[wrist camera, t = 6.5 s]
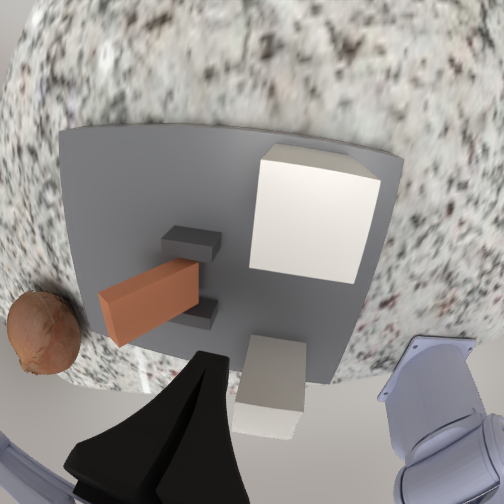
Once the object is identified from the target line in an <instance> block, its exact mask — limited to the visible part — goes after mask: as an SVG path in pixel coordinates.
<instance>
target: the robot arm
mask: <svg viewBox="0 0 504 504" xmlns="http://www.w3.org/2000/svg"><path fill="white" fill-rule="evenodd" d="M414 345H415V346H414ZM475 345H476V341H475V340H474V339H455V338H437V337H422V336H417V337H415V338H413V340H412V341H411V343H410V345H409V347H408V348H407V350H406V352H405V354H404V355H403V357H402V359H401V360H400V362H399V364H398V365H397V367H396V369H395V370H394V372H393V374H392V375H391V377H390V379H389V380H388V382H387V383H386V385H385V386H384V388H383V389H382V391H381V392H380V394H379V395H378V397H377V399H378V401H380V402H381V401H383V402H385V404H386V410H387V417H388V423H389V430H390V437H391V444H392V447H393V450H394V451H395V453H396V454H397V456H398V457H399V458H401V459H402V460H403V461H405V464H406V465H405V466H404V467H403V468H402V469H401V470H400V471H399V472H398V474H397V477H396V480H395V484H394V491H393V495H394V502H395V504H463V503H465V502H467V501H469V500H471V499H473V498H475V497H477V496H479V495H481V494H483V493H485V492H487V491H489V490H490V489H492V488H494V487H496V486H498V485H499V484H500V485H499V486H498V487H496V488H494V489H493V490H491V491H489V492H487V493H486V494H484V495H482V496H480V497H478V498H476V499H474V500H472V501H470V502H468V503H466V504H504V417H502V416H501V415H496V414H493V413H492V414H490V415H488V416H487V414H486V411H485V408H484V406H483V403H482V400H481V398H480V395H479V392H478V390H477V387H476V385H475V382H474V380H473V378H472V375H471V373H470V371H469V368H468V366H467V364H466V362H465V360H466V359H467V357H468V356H469V354H470V353H471V351H472V350H473V348H474V347H475ZM229 363H230V358H229V357H228V356H224V355H219V354H214V353H210V352H205V351H201V350H199V351H197V352H196V353H195V355H194V356H193V357H192V359H191V360H190V361H189V362H188V364H187V365H186V366H185V367H184V368H183V370H182V371H181V372H180V373H179V374H178V375H177V376H176V377H175V378H174V379H173V380H172V382H171V383H170V384H169V385H168V386H167V387H166V388H165V389H163V390H162V391H161V392H160V393H159V394H158V395H157V396H156V397H155V398H154V399H153V400H151V401H150V402H149V403H148V404H147V405H145V406H144V407H143V408H142V409H140V410H139V411H137V412H136V413H135V414H133V415H132V416H130V417H129V418H127V419H126V420H124V421H123V422H121V423H119V424H118V425H116V426H114V427H112V428H110V429H108V430H107V431H105V432H103V433H101V434H99V435H97V436H94V437H92V438H90V439H87V440H85V441H82V442H80V443H77V444H76V446H75V447H74V449H73V450H72V451H71V453H70V454H69V456H68V458H67V460H66V462H65V463H64V465H63V466H64V469H65V470H66V471H67V472H69V473H70V474H71V475H72V476H73V477H75V478H76V479H78V482H77V484H76V486H75V485H73V484H72V483H70V482H68V481H67V480H65V479H63V478H62V477H60V476H58V475H57V474H55V473H54V472H52V471H50V470H49V469H47V468H46V467H44V466H43V465H42V464H40V463H39V462H37V461H36V460H34V459H33V458H32V457H30V456H29V455H28V454H26V453H25V452H23V451H22V450H21V449H20V448H19V447H17V446H16V445H15V444H14V443H12V442H11V441H10V440H9V439H8V438H7V437H6V436H5V435H4V434H3V433H2V432H1V431H0V486H1V487H2V488H3V489H4V490H5V491H6V492H7V493H8V494H9V495H10V496H11V497H12V498H13V499H14V500H15V501H16V502H17V503H18V504H76V503H75V500H74V498H75V499H76V500H78V501H80V502H82V503H84V504H250V501H249V498H248V495H247V492H246V490H245V487H244V484H243V482H242V479H241V476H240V473H239V470H238V466H237V462H236V459H235V455H234V451H233V447H232V442H231V437H230V432H229V426H228V419H227V409H226V391H227V386H228V378H229Z"/></svg>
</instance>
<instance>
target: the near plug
mask: <svg viewBox="0 0 504 504" xmlns="http://www.w3.org/2000/svg"><path fill="white" fill-rule="evenodd" d="M380 183H381V180H380V179H379V178H377V177H376V176H375V175H374V174H373V173H371V172H370V171H369V170H368V169H367V168H365V167H364V166H363V165H362V164H361V163H359V162H358V161H357V160H356V159H354V158H353V157H352V156H349V155H344V154H339V153H333V152H328V151H323V150H317V149H311V148H305V147H298V146H292V145H285V144H277V143H275V144H274V145H273V147H272V148H271V149H270V150H269V151H268V152H267V153H266V154H265V155H264V156H263V158H262V159H261V162H260V171H259V180H258V189H257V199H256V208H255V217H254V227H253V236H252V245H251V254H250V264H249V268H255V269H261V270H267V271H274V272H280V273H286V274H292V275H299V276H305V277H311V278H318V279H324V280H331V281H337V282H344V283H350V284H354V281H355V278H356V275H357V272H358V268H359V265H360V262H361V258H362V255H363V251H364V248H365V244H366V241H367V237H368V233H369V229H370V226H371V222H372V218H373V214H374V210H375V205H376V201H377V197H378V192H379V188H380Z"/></svg>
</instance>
